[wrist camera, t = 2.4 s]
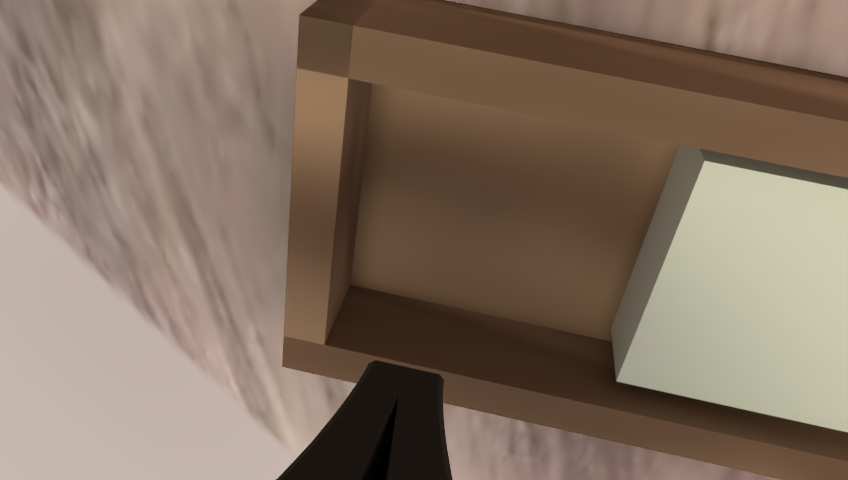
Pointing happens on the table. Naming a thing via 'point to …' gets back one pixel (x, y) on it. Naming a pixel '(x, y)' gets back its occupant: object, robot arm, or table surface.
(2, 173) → the table surface
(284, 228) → the table surface
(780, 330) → the cover slab
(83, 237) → the table surface
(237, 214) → the table surface
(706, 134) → the slide box
